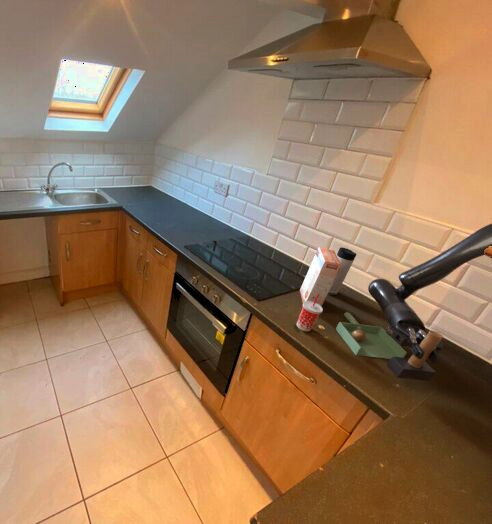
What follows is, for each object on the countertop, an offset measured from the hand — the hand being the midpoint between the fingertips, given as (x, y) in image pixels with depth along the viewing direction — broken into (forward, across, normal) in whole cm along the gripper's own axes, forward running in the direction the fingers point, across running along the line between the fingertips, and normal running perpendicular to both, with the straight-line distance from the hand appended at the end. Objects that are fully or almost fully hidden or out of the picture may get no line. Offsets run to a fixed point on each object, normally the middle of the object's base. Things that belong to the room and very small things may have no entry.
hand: (428, 358), depth 78 cm
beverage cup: (-17, -25, +13) cm, 33 cm away
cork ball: (-18, -8, +10) cm, 22 cm away
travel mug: (-49, -11, +13) cm, 52 cm away
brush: (-3, 0, +8) cm, 9 cm away
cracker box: (-36, -20, +13) cm, 44 cm away
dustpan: (-21, -6, +13) cm, 26 cm away
